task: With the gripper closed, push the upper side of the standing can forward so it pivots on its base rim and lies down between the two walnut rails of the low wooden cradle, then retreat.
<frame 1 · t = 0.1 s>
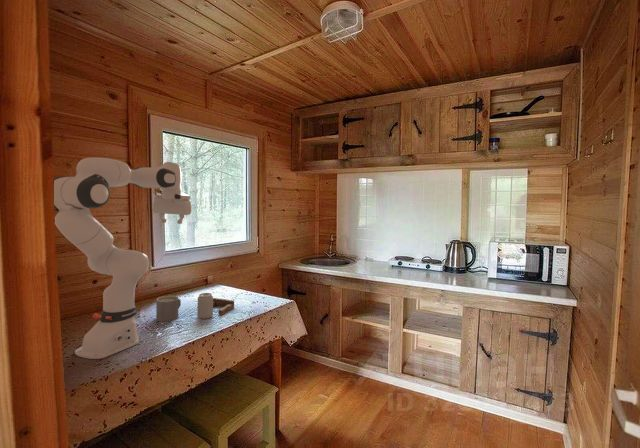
hand: (171, 223, 158), 48 cm above the table, fingers open, 8 cm apart
cradle: (216, 310, 172), on the table
coffee mug: (170, 317, 160), on the table
can: (205, 317, 162), on the table
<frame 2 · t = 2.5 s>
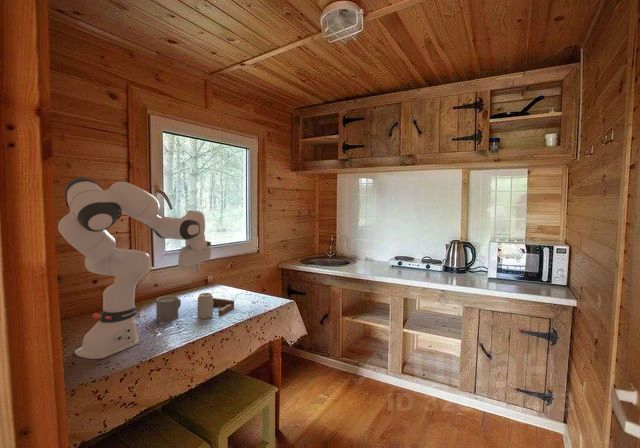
hand: (195, 272, 152), 25 cm above the table, fingers closed
nothing on the table moved.
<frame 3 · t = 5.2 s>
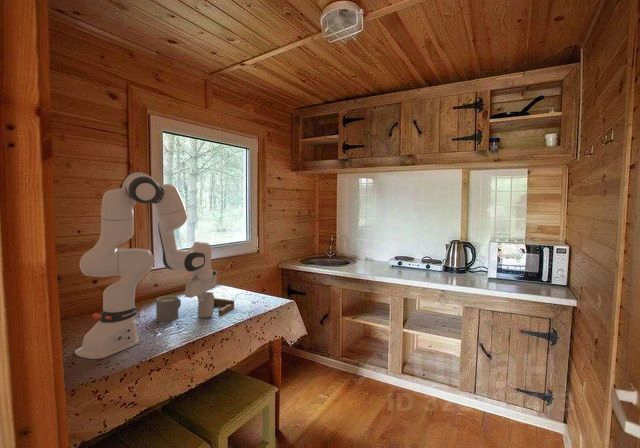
hand: (201, 301, 157), 10 cm above the table, fingers closed
can: (205, 316, 162), on the table, touching gripper
everything else where it was.
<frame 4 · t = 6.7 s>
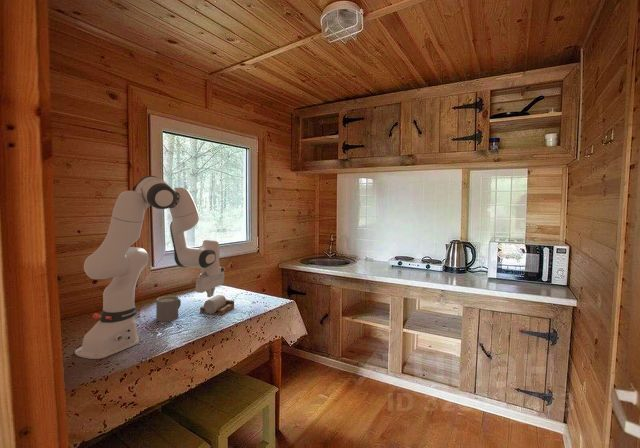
hand: (210, 296, 165), 10 cm above the table, fingers closed
can: (208, 307, 165), point 4 cm above the table
everything else where it was.
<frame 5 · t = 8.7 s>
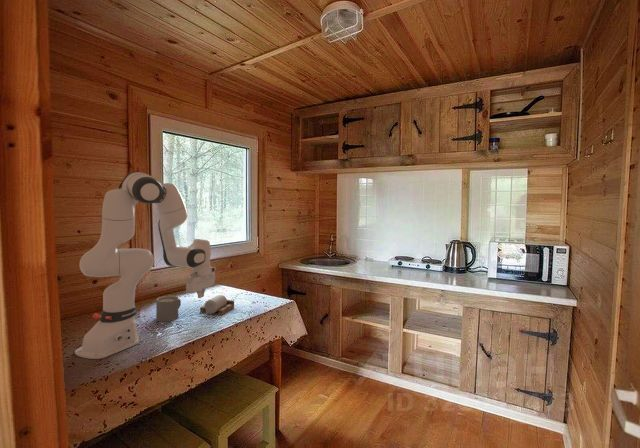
hand: (200, 297, 160), 11 cm above the table, fingers closed
nothing on the table moved.
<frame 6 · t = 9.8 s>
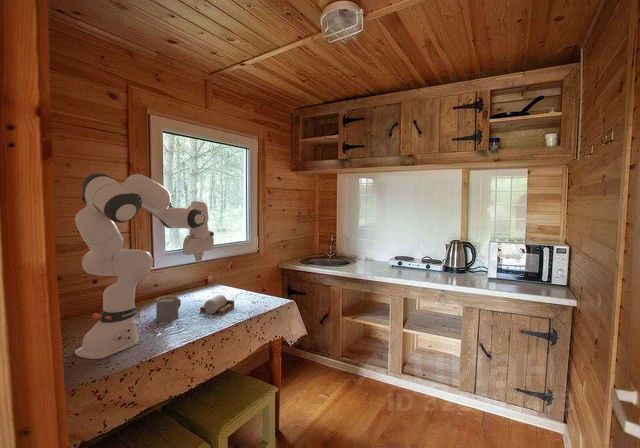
hand: (198, 261, 158), 29 cm above the table, fingers closed
nothing on the table moved.
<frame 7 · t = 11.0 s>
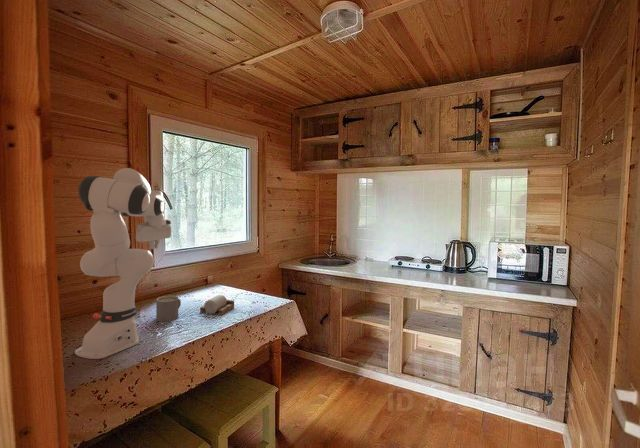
hand: (154, 248, 161), 34 cm above the table, fingers closed
nothing on the table moved.
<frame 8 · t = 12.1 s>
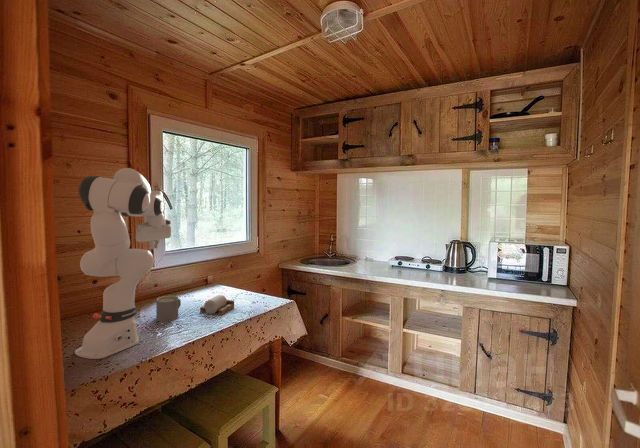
hand: (154, 248, 161), 34 cm above the table, fingers closed
nothing on the table moved.
at the end: can tilted 90°; can inside the target area (4.0 cm from its centre), point 3.7 cm above the table; can 7.0 cm from the cradle (horizontally) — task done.
